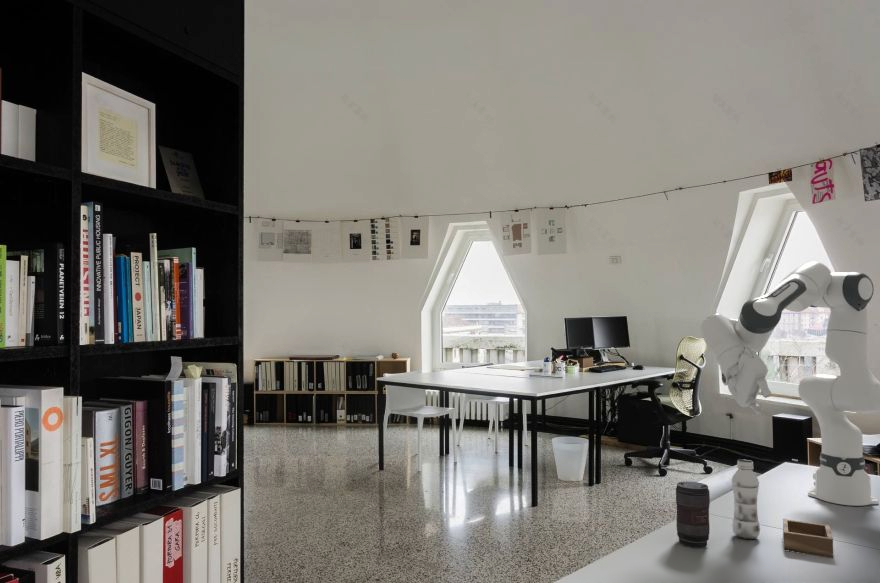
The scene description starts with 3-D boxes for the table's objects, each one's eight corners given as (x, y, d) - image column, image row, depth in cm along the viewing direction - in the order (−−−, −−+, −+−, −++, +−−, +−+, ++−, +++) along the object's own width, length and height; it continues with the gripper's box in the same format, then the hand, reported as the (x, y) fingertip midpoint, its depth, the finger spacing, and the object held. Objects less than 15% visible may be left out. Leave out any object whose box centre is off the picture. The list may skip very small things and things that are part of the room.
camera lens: (710, 540, 168) (709, 482, 168) (709, 551, 160) (709, 490, 160) (677, 535, 171) (677, 479, 171) (675, 546, 163) (674, 486, 164)
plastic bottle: (763, 542, 166) (762, 464, 166) (735, 540, 167) (734, 463, 168) (756, 534, 172) (755, 459, 173) (729, 532, 174) (728, 457, 174)
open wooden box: (783, 535, 171) (783, 518, 171) (829, 542, 166) (829, 525, 166) (784, 550, 161) (783, 532, 161) (833, 558, 156) (832, 539, 156)
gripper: (755, 339, 175) (784, 381, 166) (741, 378, 191) (766, 418, 182) (733, 346, 175) (761, 388, 166) (720, 384, 191) (745, 424, 182)
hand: (764, 404), depth 174 cm, fingers open, 8 cm apart
